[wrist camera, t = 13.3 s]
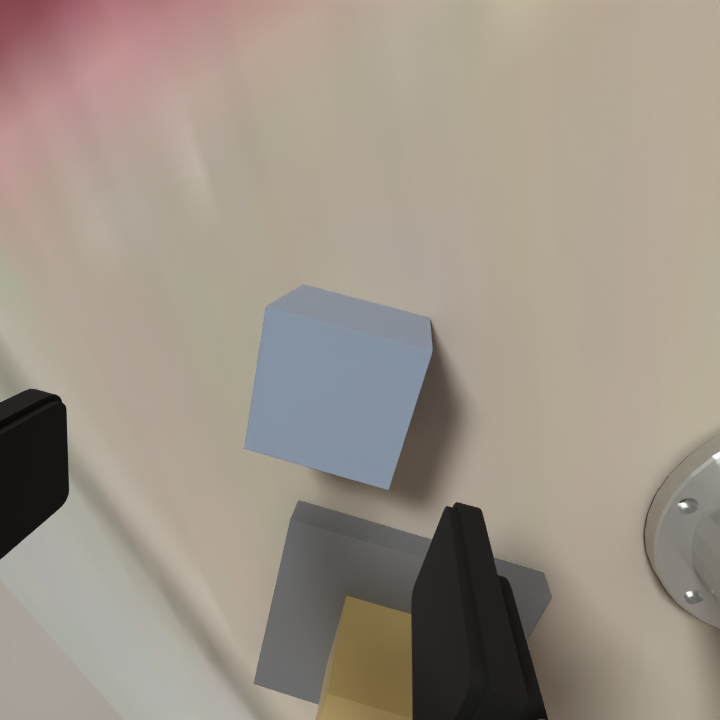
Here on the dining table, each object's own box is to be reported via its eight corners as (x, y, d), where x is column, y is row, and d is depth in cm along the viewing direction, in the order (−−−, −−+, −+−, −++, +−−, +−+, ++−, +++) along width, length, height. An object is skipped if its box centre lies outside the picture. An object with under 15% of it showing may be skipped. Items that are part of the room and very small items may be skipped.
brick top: (429, 316, 19) (432, 351, 14) (395, 428, 21) (388, 490, 16) (303, 283, 19) (265, 306, 14) (283, 396, 21) (244, 448, 16)
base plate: (543, 572, 22) (551, 597, 21) (461, 723, 27) (463, 750, 26) (298, 500, 23) (290, 519, 22) (261, 660, 28) (253, 683, 27)
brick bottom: (451, 625, 23) (459, 733, 18) (422, 693, 25) (423, 805, 20) (346, 595, 23) (327, 693, 18) (326, 664, 25) (305, 768, 20)
